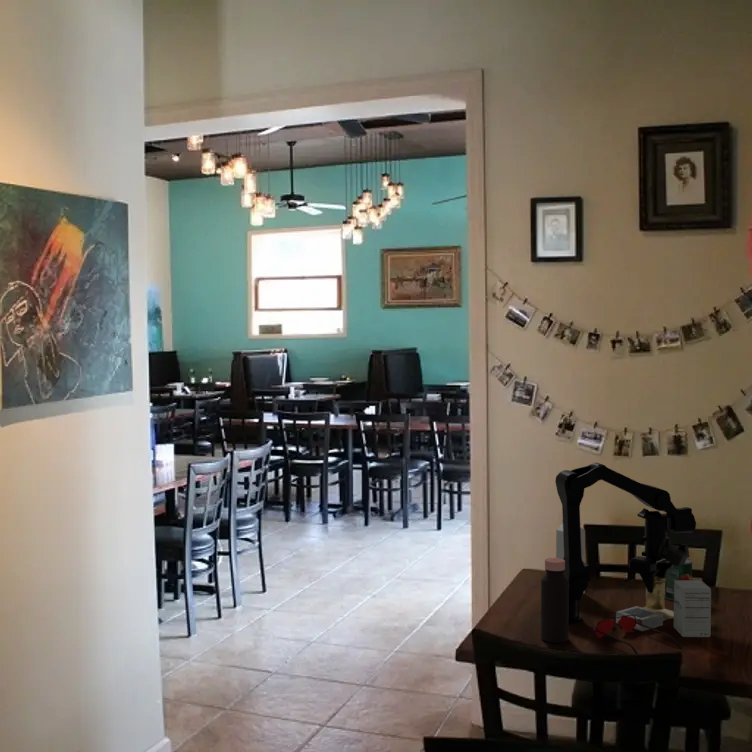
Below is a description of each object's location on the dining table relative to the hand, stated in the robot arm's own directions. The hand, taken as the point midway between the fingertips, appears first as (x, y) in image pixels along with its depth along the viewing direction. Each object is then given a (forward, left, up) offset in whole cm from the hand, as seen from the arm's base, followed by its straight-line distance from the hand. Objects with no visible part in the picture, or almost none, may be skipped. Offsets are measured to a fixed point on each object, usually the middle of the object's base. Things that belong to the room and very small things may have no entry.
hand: (655, 590), depth 246 cm
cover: (0, 0, -5) cm, 5 cm away
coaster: (0, 0, -7) cm, 7 cm away
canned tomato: (+18, +6, -7) cm, 20 cm away
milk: (-4, +27, -7) cm, 28 cm away
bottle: (-37, +2, -7) cm, 38 cm away
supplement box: (-5, -15, -7) cm, 17 cm away
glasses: (-23, -12, -7) cm, 27 cm away
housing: (-10, -3, -7) cm, 13 cm away
